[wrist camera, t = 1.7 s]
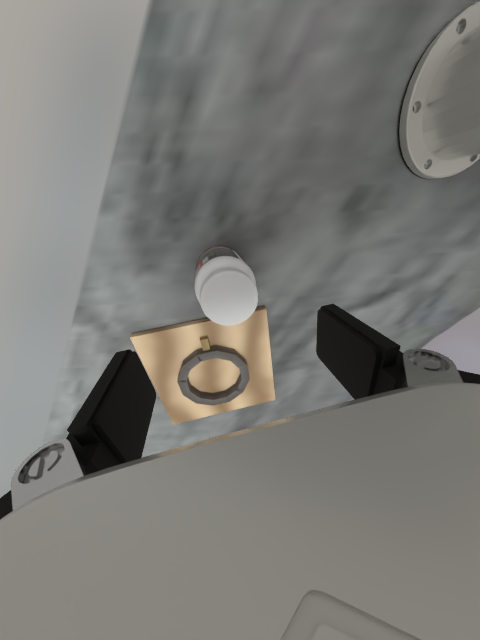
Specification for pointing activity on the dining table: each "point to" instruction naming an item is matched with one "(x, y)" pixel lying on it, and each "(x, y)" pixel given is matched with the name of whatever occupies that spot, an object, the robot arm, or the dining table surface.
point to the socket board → (208, 365)
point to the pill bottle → (225, 286)
